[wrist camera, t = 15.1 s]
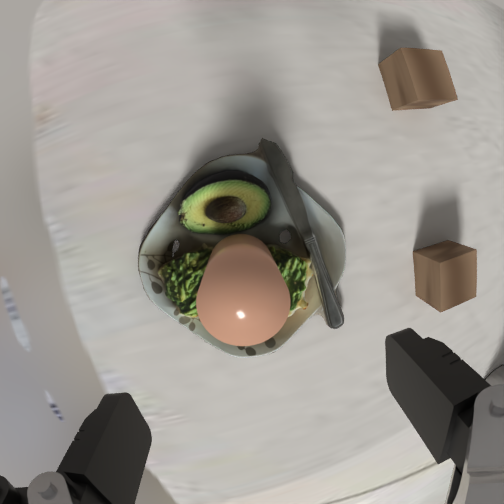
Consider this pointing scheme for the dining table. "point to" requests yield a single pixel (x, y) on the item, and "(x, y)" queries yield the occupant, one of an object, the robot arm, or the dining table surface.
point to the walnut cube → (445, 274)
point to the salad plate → (251, 223)
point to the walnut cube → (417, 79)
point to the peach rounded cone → (242, 292)
